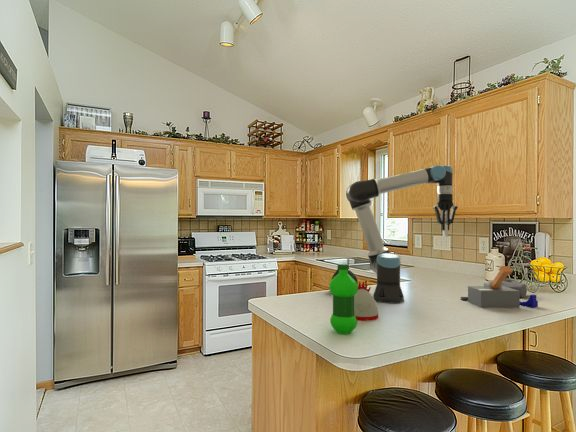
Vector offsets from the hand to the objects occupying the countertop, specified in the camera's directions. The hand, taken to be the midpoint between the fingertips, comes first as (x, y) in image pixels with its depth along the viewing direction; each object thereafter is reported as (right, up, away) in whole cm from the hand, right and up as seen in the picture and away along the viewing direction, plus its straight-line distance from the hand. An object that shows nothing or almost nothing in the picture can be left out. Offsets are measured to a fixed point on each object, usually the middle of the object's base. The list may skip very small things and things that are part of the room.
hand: (445, 236), depth 189 cm
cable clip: (+27, -33, -22) cm, 48 cm away
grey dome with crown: (-55, -32, -42) cm, 77 cm away
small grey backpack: (+34, -33, +2) cm, 47 cm away
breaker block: (+13, -32, -23) cm, 41 cm away
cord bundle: (+13, -32, -13) cm, 37 cm away
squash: (-55, -33, +8) cm, 64 cm away
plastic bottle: (-67, -32, -63) cm, 97 cm away
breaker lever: (+13, -24, -23) cm, 35 cm away
